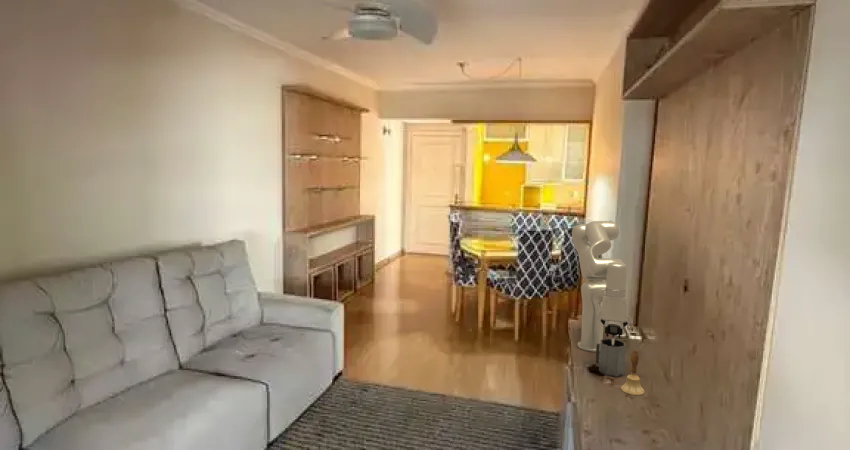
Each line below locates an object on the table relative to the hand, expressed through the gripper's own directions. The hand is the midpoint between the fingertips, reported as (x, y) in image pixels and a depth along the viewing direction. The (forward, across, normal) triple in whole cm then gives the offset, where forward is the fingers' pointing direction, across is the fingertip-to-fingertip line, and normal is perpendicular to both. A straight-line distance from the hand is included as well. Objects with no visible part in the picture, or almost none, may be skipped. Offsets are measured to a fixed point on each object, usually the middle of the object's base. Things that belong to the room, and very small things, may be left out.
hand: (613, 335), depth 204 cm
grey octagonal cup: (+15, 0, 0) cm, 15 cm away
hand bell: (+16, +8, -15) cm, 23 cm away
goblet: (+12, 0, 0) cm, 12 cm away
